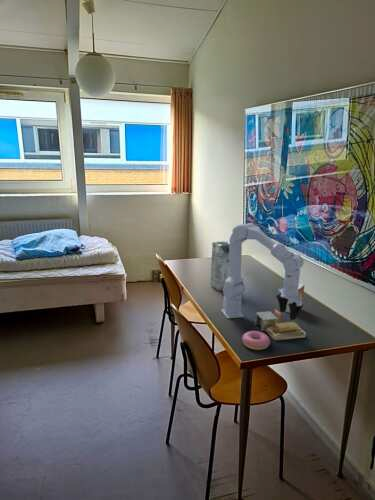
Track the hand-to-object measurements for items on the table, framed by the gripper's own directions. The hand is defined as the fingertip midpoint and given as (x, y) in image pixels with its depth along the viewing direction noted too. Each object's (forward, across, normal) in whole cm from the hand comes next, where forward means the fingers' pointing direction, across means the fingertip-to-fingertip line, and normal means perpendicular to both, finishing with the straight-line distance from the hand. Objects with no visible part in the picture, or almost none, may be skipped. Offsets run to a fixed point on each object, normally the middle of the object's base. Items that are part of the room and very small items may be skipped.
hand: (287, 315), depth 151 cm
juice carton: (+9, -58, -6) cm, 59 cm away
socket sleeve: (+9, -9, -4) cm, 13 cm away
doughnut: (+9, +4, -16) cm, 19 cm away
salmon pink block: (+8, -9, -3) cm, 12 cm away
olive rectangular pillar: (+8, 0, 0) cm, 8 cm away
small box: (+9, -21, +17) cm, 29 cm away
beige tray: (+9, 0, 0) cm, 9 cm away
